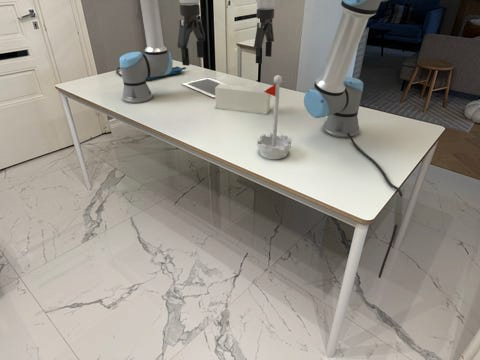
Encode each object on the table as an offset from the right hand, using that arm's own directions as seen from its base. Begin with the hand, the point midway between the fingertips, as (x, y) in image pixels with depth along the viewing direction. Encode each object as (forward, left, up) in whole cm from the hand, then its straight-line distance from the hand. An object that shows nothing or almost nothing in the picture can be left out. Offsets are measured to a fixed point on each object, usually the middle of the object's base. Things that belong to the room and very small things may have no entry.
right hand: (263, 59), depth 156 cm
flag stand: (-40, +17, -25) cm, 50 cm away
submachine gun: (+87, +31, -25) cm, 95 cm away
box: (+7, +7, -25) cm, 27 cm away
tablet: (+46, +10, -25) cm, 53 cm away
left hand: (-2, +34, +3) cm, 34 cm away
